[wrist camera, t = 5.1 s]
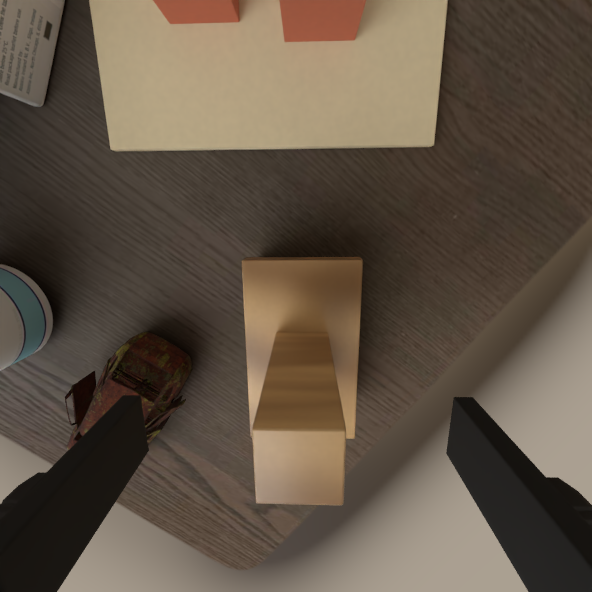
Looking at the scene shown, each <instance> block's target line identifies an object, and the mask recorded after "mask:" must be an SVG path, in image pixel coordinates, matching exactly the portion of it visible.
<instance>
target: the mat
mask: <svg viewBox="0 0 592 592" xmlns="http://www.w3.org/2000/svg"><path fill="white" fill-rule="evenodd" d="M89 3H90V10H91V17H92V24H93V31H94V38H95V45H96V51H97V58H98V65H99V72H100V79H101V86H102V93H103V100H104V107H105V114H106V121H107V128H108V135H109V142H110V149H111V150H113V151H181V150H254V149H327V148H400V147H431V146H433V145H434V140H435V130H436V119H437V109H438V98H439V88H440V77H441V67H442V56H443V46H444V35H445V25H446V14H447V4H448V0H366V3H365V7H364V10H363V14H362V17H361V21H360V24H359V28H358V31H357V35H356V38H355V40H351V41H310V42H285V41H284V34H283V26H282V18H281V10H280V2H279V0H239V18H240V21H239V22H232V23H194V24H170V23H169V22H168V21H167V19H166V18H165V16H164V15H163V14H162V12H161V11H160V9H159V8H158V7H157V5H156V4H155V3H154V1H153V0H89Z"/></svg>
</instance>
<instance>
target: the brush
mask: <svg viewBox="0 0 592 592" xmlns="http://www.w3.org/2000/svg"><path fill="white" fill-rule="evenodd" d="M362 271H363V260H362V259H361V258H360V257H246V258H244V259H243V260H242V279H243V299H244V318H245V338H246V357H247V377H248V396H249V416H250V436H251V437H252V439H253V459H254V479H255V499H256V503H259V504H306V505H342V504H343V502H344V479H345V453H346V438H350V439H354V438H355V421H356V400H357V378H358V357H359V336H360V314H361V293H362Z"/></svg>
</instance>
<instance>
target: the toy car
mask: <svg viewBox="0 0 592 592" xmlns="http://www.w3.org/2000/svg"><path fill="white" fill-rule="evenodd" d="M191 367H192V363H191V358H190V356H189V355H188V354H186V353H185V352H184V351H182V350H181V349H179V348H178V347H176V346H175V345H173V344H171V343H169V342H168V341H166V340H164V339H163V338H161V337H159V336H157V335H155V334H152V333H150V332H143V333H141V334H138V335H136V336H134V337H132V338H131V339H129V340H128V341H127V342H126V343H125V344H124V345H122V346H121V347H120V348H119V349H118V350H117V351H116V352H115V354H114V355H113V357H112V358H110V359H109V360H108V362H107V364H106V366H105V369H104V371H103V373H102V375H101V377H100V380H99V382H98V384H97V386H96V379H95V371H93V372H92V373H90V374H89V375H87V376H86V377H85V378H83V379H82V380H80V381H79V382H77V383H76V384H74V385H72V387H71V388H72V389H71V390H70V391H69V393H68V394H67V395H66V396H65V402H66V399H67V398H68V397H69V396H70V395H71V394H72V397H73V407H74V417H75V423H73V424H71V421H70V418H69V413H68V409H67V402H66V409H67V414H68V418H69V422H70V424H71V425H75V424H76V426H75V428H74V430H73V432H72V433H71V436H70V439H69V442H68V445H67V448H68V450H69V449H70V448H71V447H72V446H73V445H74V444H75V443H76V442H77V441H78V440H79V439H80V438H81V437H82V436H83V435H84V434H85V433H86V432H87V431H88V430H89V429H90V428H91V427H92V426H93V425H94V424H95V423H96V422H97V421H98V420H99V419H100V418H101V417H102V416H103V415H104V414H105V413H106V412H107V411H108V410H109V409H110V408H111V407H112V406H113V405H114V404H115V403H116V402H117V401H118V400H119V399H120V398H121V397H122V396H123V395H141V401H142V408H143V415H144V421H145V428H146V435H147V442H148V444H149V443H150V442H151V441H152V440H153V439H154V437H155V436H156V435H157V434H158V433H159V432H160V431H161V429H162V428H163V426H164V425H165V423H166V422H167V420H168V418H169V417H170V415H171V414H172V413H173V412H174V411H175V410H177V409H178V408H179V407H180V406H181V405H183V404H184V402H185V400H186V399H185V400H183V401H181V398H182V396H180V397H179V398H178V399H177V400H175V401H174V402H173V400H174V399H175V397H177V396H178V394H179V393H180V391H181V389H182V388H183V386H184V383H185V381H186V379H187V378H188V376H189V375H190V373H191V371H192V369H191ZM100 388H101V389H100ZM180 401H181V402H180ZM172 402H173V403H172ZM159 423H160V425H159V426H158V424H159ZM157 426H158V427H157ZM156 427H157V428H156Z"/></svg>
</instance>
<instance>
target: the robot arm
mask: <svg viewBox="0 0 592 592" xmlns="http://www.w3.org/2000/svg"><path fill="white" fill-rule="evenodd" d="M148 451H149V448H148V442H147V435H146V428H145V421H144V415H143V408H142V401H141V395H123V396H122V397H121V398H120V399H119V400H118V401H117V402H116V403H115V404H114V405H113V406H112V407H111V408H110V409H109V410H108V411H107V412H106V413H105V414H104V415H103V416H102V417H101V418H100V419H99V420H98V421H97V422H96V423H95V424H94V425H93V426H92V427H91V428H90V429H89V430H88V431H87V432H86V433H85V434H84V435H83V436H82V437H81V438H80V439H79V440H78V441H77V442H76V443H75V444H74V445H73V446H72V447H71V448H70V449H69V450H68V451H67V452H66V453H65V454H64V455H63V456H62V457H61V459H60V460H59V461H58V462H57V463H56V464H55V465H54V466H53V467H52V468H51V469H50V470H49V471H48V472H47V473H37V474H36V475H34V476H33V477H31V478H29V479H28V480H26V481H25V482H23V483H22V484H20V485H19V486H18V487H17V488H16V489H14V490H13V491H12V492H11V493H10V494H9V495H8V496H7V497H6V498H5V499H4V500H3V502H2V504H0V592H57V591H58V589H59V588H60V586H61V585H62V583H63V582H64V580H65V579H66V577H67V576H68V574H69V572H70V571H71V569H72V568H73V566H74V565H75V563H76V562H77V560H78V559H79V557H80V555H81V554H82V552H83V551H84V549H85V548H86V546H87V545H88V543H89V542H90V540H91V539H92V537H93V535H94V534H95V532H96V531H97V529H98V528H99V526H100V525H101V523H102V522H103V520H104V518H105V517H106V515H107V514H108V512H109V511H110V509H111V508H112V506H113V505H114V503H115V502H116V500H117V499H118V497H119V495H120V494H121V492H122V491H123V489H124V488H125V486H126V485H127V483H128V482H129V480H130V478H131V477H132V475H133V474H134V472H135V471H136V469H137V468H138V466H139V465H140V463H141V462H142V460H143V458H144V457H145V455H146V454H147V452H148ZM447 455H448V457H449V458H450V460H451V462H452V464H453V465H454V467H455V469H456V470H457V472H458V474H459V475H460V477H461V478H462V480H463V482H464V484H465V485H466V487H467V489H468V490H469V492H470V494H471V496H472V497H473V499H474V501H475V502H476V504H477V506H478V507H479V509H480V511H481V512H482V514H483V516H484V517H485V519H486V521H487V522H488V524H489V526H490V527H491V529H492V531H493V532H494V534H495V536H496V538H497V539H498V541H499V543H500V544H501V546H502V548H503V549H504V551H505V553H506V554H507V556H508V558H509V559H510V561H511V563H512V564H513V566H514V568H515V570H516V571H517V573H518V574H519V576H520V578H521V580H522V581H523V583H524V585H525V586H526V588H527V589H528V592H592V505H591V504H590V503H589V502H588V501H587V500H586V499H585V498H584V497H583V496H582V495H581V494H580V493H579V492H578V491H577V490H575V489H574V488H572V487H571V486H570V485H568V484H567V483H565V482H564V481H562V480H561V479H559V478H546V477H545V476H544V475H543V474H542V473H541V472H540V470H539V469H538V468H537V467H536V466H535V465H534V464H533V463H532V462H531V461H530V460H529V458H528V457H527V456H526V455H525V454H524V453H523V452H522V451H521V450H520V449H519V448H518V446H516V444H515V443H514V442H513V441H512V440H511V439H510V438H509V437H508V436H507V434H506V433H505V432H504V431H503V430H502V429H501V428H500V427H499V426H498V425H497V423H496V422H495V421H494V420H493V419H492V418H491V417H490V416H489V415H488V414H487V413H486V411H485V410H484V409H483V408H482V407H481V406H480V405H479V404H478V403H477V402H476V401H475V399H474V398H472V397H454V400H453V408H452V416H451V423H450V431H449V437H448V446H447Z"/></svg>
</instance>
